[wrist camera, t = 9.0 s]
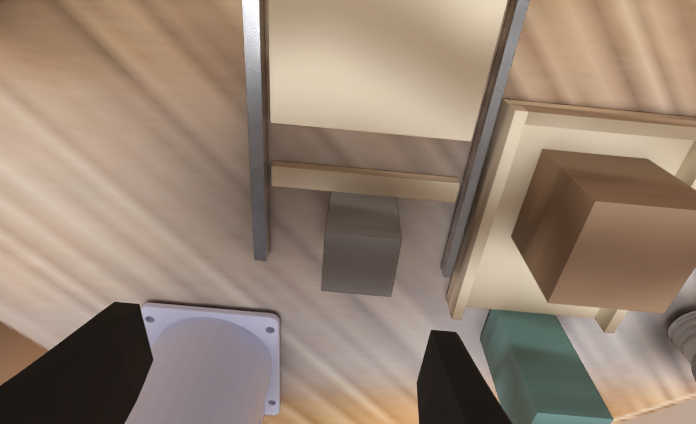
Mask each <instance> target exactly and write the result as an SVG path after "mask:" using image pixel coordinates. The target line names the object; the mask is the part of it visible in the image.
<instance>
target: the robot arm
mask: <svg viewBox="0 0 696 424" xmlns="http://www.w3.org/2000/svg"><path fill="white" fill-rule="evenodd" d="M269 327H272V328H269ZM417 395H418V411H419V424H513V423H512V422H511V420H510V419H509V417H508V416H507V414H506V413H505V411H504V410H503V408H502V407H501V405H500V404H499V402H498V400H497V399H496V397H495V396H494V394H493V393H492V391H491V389H490V388H489V386H488V385H487V383H486V381H485V380H484V378H483V376H482V375H481V373H480V371H479V370H478V368H477V366H476V365H475V363H474V361H473V360H472V358H471V356H470V354H469V353H468V351H467V349H466V347H465V346H464V344H463V342H462V340H461V339H460V337H459V335H458V334H457V333H456V332H449V331H438V330H431V333H430V336H429V340H428V344H427V347H426V351H425V355H424V358H423V362H422V366H421V369H420V373H419V376H418V380H417ZM279 411H280V320H279V317H278V316H277V315H275V314H272V313H262V312H251V311H240V310H228V309H217V308H206V307H194V306H183V305H172V304H160V303H145V304H143V306H142V307H141V309H140V305H139V304H132V303H120V302H114V303H112V304H111V305H110V306H108V307H107V308H106V309H104V310H103V311H101V312H100V313H99V314H97V315H96V316H95V317H93V318H92V319H91V320H89V321H88V322H87V323H86V324H84V325H83V326H82V327H80V328H79V329H78V330H76V331H75V332H74V333H72V334H71V335H70V336H68V337H67V338H66V339H64V340H63V341H62V342H60V343H59V344H58V345H56V346H55V347H54V348H52V349H51V350H50V351H48V352H47V353H45V354H44V355H43V356H41V357H40V358H39V359H37V360H36V361H35V362H33V363H32V364H31V365H29V366H28V367H26V368H25V369H24V370H22V371H21V372H20V373H18V374H17V375H15V376H14V377H12V378H11V379H9V380H8V381H7V382H5V383H4V384H2V385H1V386H0V424H262V422H263V417H264V415H277V414H278V413H279Z"/></svg>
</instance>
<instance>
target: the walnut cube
mask: <svg viewBox="0 0 696 424" xmlns="http://www.w3.org/2000/svg"><path fill="white" fill-rule="evenodd" d="M511 238H512V240H513V241H514V243H515V245H516V247H517V249H518V250H519V252H520V254H521V256H522V258H523V259H524V261H525V263H526V265H527V267H528V268H529V270H530V272H531V274H532V276H533V277H534V279H535V281H536V283H537V285H538V286H539V288H540V290H541V292H542V294H543V295H544V297H545V299H546V301H547V303H552V304H563V305H574V306H585V307H597V308H608V309H619V310H630V311H641V312H653V313H665V311H666V310H667V308H668V307H669V305H670V304H671V302H672V301H673V299H674V298H675V297H676V295H677V294H678V292H679V291H680V289H681V288H682V286H683V285H684V283H685V282H686V280H687V279H688V278H689V276H690V275H691V273H692V272H693V270H694V269H695V267H696V190H695V189H693V188H692V187H690V186H689V185H687V184H686V183H684V182H683V181H681V180H680V179H678V178H677V177H675V176H673V175H672V174H670V173H669V172H667V171H666V170H664V169H663V168H661V167H660V166H658V165H657V164H655V163H654V162H652V161H650V160H649V159H645V158H635V157H624V156H613V155H603V154H592V153H581V152H570V151H560V150H549V149H542V151H541V154H540V157H539V159H538V162H537V165H536V168H535V171H534V173H533V176H532V179H531V182H530V185H529V187H528V190H527V193H526V196H525V198H524V201H523V204H522V207H521V210H520V212H519V215H518V218H517V221H516V224H515V226H514V229H513V232H512V235H511Z"/></svg>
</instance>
